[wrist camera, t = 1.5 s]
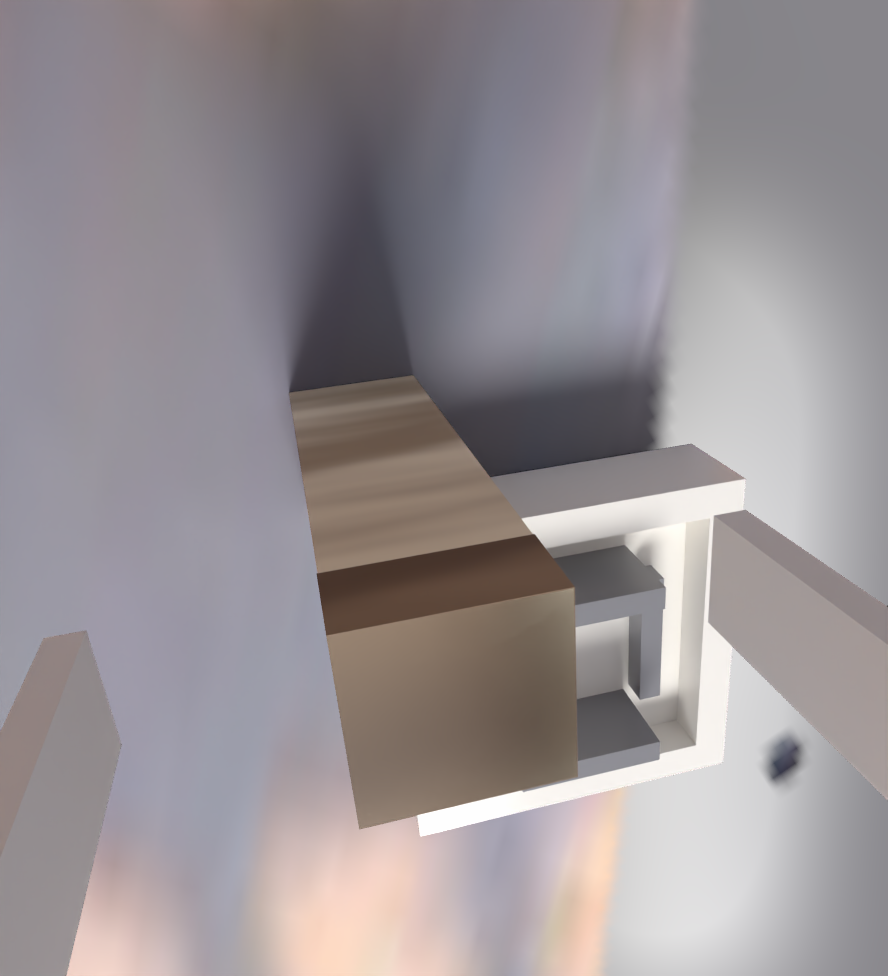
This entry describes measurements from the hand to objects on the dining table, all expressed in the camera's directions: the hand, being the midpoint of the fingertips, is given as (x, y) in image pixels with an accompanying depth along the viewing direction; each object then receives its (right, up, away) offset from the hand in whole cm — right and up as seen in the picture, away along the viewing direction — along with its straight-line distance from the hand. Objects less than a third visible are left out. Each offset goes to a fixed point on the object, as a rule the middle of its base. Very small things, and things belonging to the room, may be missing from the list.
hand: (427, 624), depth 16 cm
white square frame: (+4, -2, +14) cm, 14 cm away
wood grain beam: (-2, +4, +9) cm, 11 cm away
